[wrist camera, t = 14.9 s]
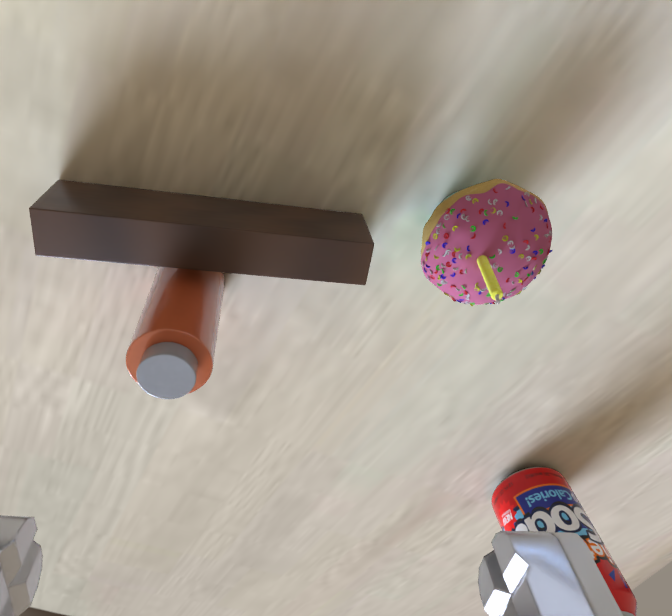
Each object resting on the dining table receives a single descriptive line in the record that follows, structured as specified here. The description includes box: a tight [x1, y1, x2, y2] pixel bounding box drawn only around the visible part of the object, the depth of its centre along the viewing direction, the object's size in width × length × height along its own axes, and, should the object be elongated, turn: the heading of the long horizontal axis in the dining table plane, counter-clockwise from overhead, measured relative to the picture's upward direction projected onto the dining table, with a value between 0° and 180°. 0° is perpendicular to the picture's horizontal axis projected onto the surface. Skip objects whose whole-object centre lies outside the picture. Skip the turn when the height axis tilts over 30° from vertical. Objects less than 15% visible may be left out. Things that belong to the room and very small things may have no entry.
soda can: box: [492, 467, 637, 616], centre depth 49 cm, size 8×8×15 cm
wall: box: [29, 180, 374, 285], centre depth 35 cm, size 20×3×5 cm, turn 81°
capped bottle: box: [126, 267, 225, 399], centre depth 34 cm, size 5×5×11 cm
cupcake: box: [421, 179, 552, 306], centre depth 34 cm, size 9×8×12 cm
